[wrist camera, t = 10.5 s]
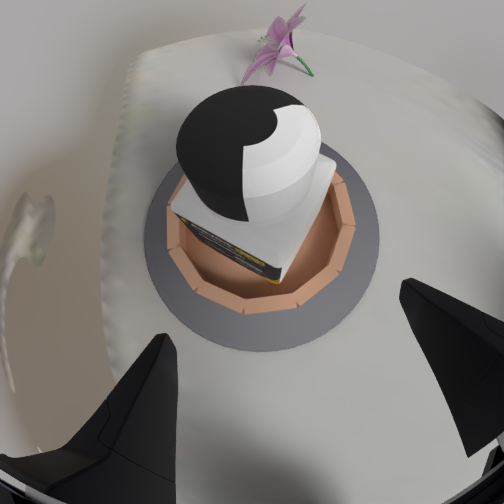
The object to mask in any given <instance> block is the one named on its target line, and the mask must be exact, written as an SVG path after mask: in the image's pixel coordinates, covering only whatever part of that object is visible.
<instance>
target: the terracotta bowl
mask: <svg viewBox="0 0 504 504" xmlns="http://www.w3.org/2000/svg"><path fill="white" fill-rule="evenodd" d="M187 179H188V178H187V176H186V175H185V173H184V175H183V177H182V178H181V180H180V182H179V184H178V185H177V187H176V189H175V191H174V192H173V194H172V196H171V198H170V200H169V202H168V204H169V206H167V249H168V250H169V254H170V256H171V257H172V259H173V260H174V262H175V264H176V265H177V267H178V268H179V270H180V271H181V273H182V274H183V276H184V277H185V279H186V280H187V282H188V284H189V285H190V287H191V288H192V290H193V291H196V293H197V294H200V295H202V296H204V297H206V298H208V299H210V300H212V301H215V302H217V303H219V304H221V305H223V306H226V307H228V308H230V309H232V310H234V311H237V312H239V313H241V314H247V315H249V314H258V313H266V312H274V311H282V310H289V309H295V308H297V307H299V306H301V305H302V304H303V303H305V302H306V301H307V300H309V299H310V298H311V297H312V296H314V295H315V294H316V293H317V292H319V291H320V290H321V289H322V288H324V287H325V286H326V285H327V284H328V283H330V282H331V281H332V280H333V279H334V278H336V277H337V276H338V275H339V273H340V272H341V271H342V268H343V265H344V262H345V259H346V256H347V253H348V250H349V247H350V244H351V241H352V238H353V235H354V232H355V227H354V226H355V225H356V223H355V219H354V215H353V211H352V207H351V203H350V199H349V195H348V191H347V188H346V184H345V183H343V179H342V178H341V177H340V176H339V175H338V174H337V173H336V172H334V175H333V178H332V180H331V183H330V186H329V188H328V191H327V193H326V196H325V199H324V201H323V204H322V206H321V209H320V211H319V213H318V215H317V217H316V219H315V221H314V222H313V224H312V226H311V228H310V230H309V232H308V234H307V236H306V238H305V239H304V241H303V243H302V245H301V247H300V249H299V251H298V252H297V254H296V256H295V258H294V260H293V262H292V263H291V265H290V267H289V269H288V271H287V272H286V274H285V276H284V278H283V280H282V281H281V283H280V284H274V283H272V282H270V281H268V280H266V279H265V278H263V277H261V276H259V275H257V274H256V273H254V272H252V271H250V270H248V269H247V268H245V267H243V266H241V265H239V264H238V263H236V262H234V261H232V260H231V259H229V258H227V257H225V256H224V255H222V254H220V253H218V252H216V251H215V250H213V249H211V248H209V247H208V246H206V245H204V244H202V243H201V242H200V241H199V240H198V239H197V238H196V237H195V235H194V234H193V233H192V232H191V231H190V230H189V229H188V228H187V227H186V226H185V224H184V223H183V222H182V221H181V220H180V219H179V218H178V217H177V215H176V214H175V213H174V212H173V211H172V210H171V206H170V205H171V202H172V201H173V199H174V198H175V196H176V195H177V194H178V192H179V191H180V189H181V188H182V186H183V185H184V184H185V182H186V181H187Z"/></svg>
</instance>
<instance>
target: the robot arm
mask: <svg viewBox="0 0 504 504" xmlns="http://www.w3.org/2000/svg"><path fill="white" fill-rule="evenodd" d="M399 300H400V303H401V305H402V308H403V310H404V312H405V315H406V317H407V319H408V322H409V324H410V327H411V329H412V331H413V333H414V335H415V337H416V339H417V341H418V343H419V345H420V347H421V349H422V351H423V353H424V355H425V357H426V359H427V361H428V363H429V365H430V367H431V369H432V371H433V373H434V375H435V377H436V379H437V381H438V384H439V386H440V388H441V390H442V392H443V395H444V397H445V399H446V402H447V404H448V406H449V409H450V411H451V414H452V416H453V419H454V421H455V424H456V427H457V429H458V432H459V435H460V437H461V440H462V443H463V446H464V449H465V452H466V455H467V457H468V458H469V457H470V456H472V455H473V454H475V453H476V452H478V451H479V450H481V449H482V448H483V447H485V446H486V445H487V444H489V443H490V442H491V441H493V440H494V439H495V438H496V439H497V441H498V443H499V445H498V446H497V447H495V448H494V449H493V450H492V451H490V453H489V456H488V460H487V463H486V466H485V468H484V471H483V474H482V477H481V478H480V479H479V480H477V481H476V482H475V483H473V484H472V485H470V486H469V487H467V488H466V489H464V490H463V491H461V492H460V493H458V494H457V495H455V496H454V497H452V498H450V499H449V500H447V501H445V502H444V503H442V504H504V322H503V321H500V320H498V319H496V318H494V317H492V316H490V315H488V314H486V313H484V312H481V311H480V310H478V309H476V308H474V307H472V306H470V305H468V304H466V303H464V302H462V301H460V300H458V299H456V298H454V297H452V296H450V295H448V294H446V293H444V292H442V291H439V290H437V289H435V288H433V287H431V286H429V285H427V284H425V283H422V282H420V281H418V280H416V279H414V278H408V279H405V280H403V281H402V283H401V289H400V295H399ZM177 401H178V371H177V351H176V347H175V345H174V344H173V342H172V340H171V339H170V337H169V335H168V334H167V333H162V334H157V335H156V336H155V337H154V338H153V339H152V340H151V342H150V343H149V344H148V345H147V347H146V348H145V349H144V350H143V352H142V353H141V354H140V356H139V357H138V358H137V359H136V361H135V362H134V363H133V364H132V366H131V367H130V368H129V369H128V371H127V372H126V373H125V375H124V376H123V377H122V378H121V380H120V381H119V382H118V384H117V385H116V386H115V387H114V389H113V390H112V391H111V393H110V394H109V395H108V396H107V399H105V400H104V402H103V403H102V404H101V406H100V407H99V408H98V409H97V411H96V412H95V413H94V414H93V416H92V417H91V418H90V419H89V420H88V421H87V422H86V423H85V424H84V426H83V427H82V428H81V429H80V430H79V431H78V432H77V433H76V434H75V435H74V436H73V437H72V439H71V440H70V441H69V442H68V443H67V444H65V445H64V446H63V447H61V448H59V449H56V450H53V451H49V452H45V453H40V454H35V455H31V456H26V457H20V458H11V457H8V456H7V455H5V454H0V469H1V470H3V471H4V472H6V473H8V474H9V475H11V476H12V477H14V478H15V479H17V480H19V481H20V482H22V483H24V484H26V491H25V492H24V491H22V490H20V489H19V488H17V487H15V486H13V485H11V484H9V483H7V482H6V481H4V480H2V479H1V478H0V504H176V484H175V459H176V421H177Z"/></svg>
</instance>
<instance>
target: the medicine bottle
mask: <svg viewBox="0 0 504 504" xmlns="http://www.w3.org/2000/svg"><path fill="white" fill-rule="evenodd" d="M320 145H321V134H320V129H319V126H318V123H317V121H316V119H315V117H314V116H313V114H312V113H311V112H310V110H309V109H308V108H307V107H306V106H305V105H304V104H303V103H301V102H300V101H299V100H297V99H296V98H295V97H293V96H291V95H290V94H288V93H286V92H283V91H281V90H278V89H275V88H271V87H266V86H255V85H250V86H239V87H234V88H229V89H226V90H223V91H220V92H218V93H216V94H214V95H212V96H210V97H208V98H207V99H205V100H204V101H202V102H201V103H200V104H199V105H197V106H196V107H195V108H194V109H193V110H192V112H191V113H190V114H189V115H188V117H187V118H186V119H185V121H184V123H183V124H182V126H181V128H180V131H179V134H178V137H177V144H176V151H177V157H178V161H179V164H180V166H181V168H182V170H183V171H184V173H185V175H186V176H187V178H188V179H187V181H186V182H185V184H184V185H183V186H182V188H181V189H180V191H179V192H178V194H177V195H176V196H175V198H174V199H173V201H172V202H171V205H170V206H171V210H172V211H173V212H174V213H175V214H176V215H177V217H178V218H179V219H180V220H181V221H182V222H183V223H184V224H185V226H186V227H187V228H188V229H189V230H190V231H191V232H192V233H193V234H194V235H195V237H196V238H197V239H198V240H199V241H200V242H201V243H202V244H204V245H206V246H208V247H209V248H211V249H213V250H215V251H216V252H218V253H220V254H222V255H224V256H225V257H227V258H229V259H231V260H232V261H234V262H236V263H238V264H239V265H241V266H243V267H245V268H247V269H248V270H250V271H252V272H254V273H256V274H257V275H259V276H261V277H263V278H265V279H266V280H268V281H270V282H272V283H274V284H280V283H281V281H282V280H283V278H284V276H285V274H286V272H287V271H288V269H289V267H290V265H291V263H292V262H293V260H294V258H295V256H296V254H297V252H298V251H299V249H300V247H301V245H302V243H303V241H304V239H305V238H306V236H307V234H308V232H309V230H310V228H311V226H312V224H313V222H314V221H315V219H316V217H317V215H318V213H319V211H320V209H321V206H322V204H323V201H324V199H325V196H326V193H327V191H328V188H329V186H330V183H331V180H332V178H333V175H334V172H335V170H336V162H335V161H334V160H332V159H330V158H328V157H326V156H324V155H322V154H320V153H319V150H320Z"/></svg>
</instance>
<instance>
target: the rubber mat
mask: <svg viewBox="0 0 504 504" xmlns="http://www.w3.org/2000/svg"><path fill="white" fill-rule="evenodd" d="M319 153H320V154H322V155H324V156H326V157H328V158H330V159H332V160H334V161H335V162H336V170H335V172H336V173H337V174H338V175H339V176H340V177H341V178H342V179H343V183H345V184H346V188H347V191H348V195H349V199H350V203H351V207H352V211H353V215H354V219H355V223H356V225H355V226H354V227H355V232H354V235H353V238H352V241H351V244H350V247H349V250H348V253H347V256H346V259H345V262H344V265H343V268H342V271H341V272H340V273H339V275H338V276H337V277H336V278H334V279H333V280H332V281H331V282H330V283H328V284H327V285H326V286H325V287H324V288H322V289H321V290H320V291H319V292H317V293H316V294H315V295H314V296H312V297H311V298H310V299H309V300H307V301H306V302H305V303H303V304H302V305H301V306H299V307H297V308H295V309H289V310H282V311H274V312H266V313H258V314H249V315H247V314H241V313H239V312H237V311H234V310H232V309H230V308H228V307H226V306H223V305H221V304H219V303H217V302H215V301H212V300H210V299H208V298H206V297H204V296H202V295H200V294H197V293H196V291H193V290H192V288H191V287H190V285H189V284H188V282H187V280H186V279H185V277H184V276H183V274H182V273H181V271H180V270H179V268H178V267H177V265H176V264H175V262H174V260H173V259H172V257H171V256H170V254H169V250H168V249H167V206H169V204H168V202H169V200H170V198H171V196H172V194H173V192H174V191H175V189H176V187H177V185H178V184H179V182H180V180H181V178H182V177H183V175H184V171H183V170H182V168H181V166H180V164H179V162H178V163H177V164H176V165H175V166H174V167H173V168H172V169H171V171H170V172H169V173H168V174H167V175H166V177H165V178H164V180H163V181H162V183H161V184H160V186H159V188H158V190H157V192H156V194H155V196H154V198H153V200H152V203H151V206H150V209H149V212H148V217H147V222H146V227H145V255H146V260H147V265H148V270H149V273H150V275H151V278H152V281H153V284H154V286H155V288H156V290H157V292H158V293H159V295H160V297H161V299H162V300H163V302H164V303H165V304H166V306H167V307H168V308H169V310H170V311H171V312H172V313H173V314H174V315H175V316H176V317H177V318H178V319H179V320H180V321H181V322H182V323H183V324H184V325H186V326H187V327H188V328H190V329H191V330H192V331H193V332H195V333H197V334H198V335H200V336H202V337H204V338H205V339H207V340H209V341H212V342H214V343H217V344H219V345H222V346H225V347H229V348H233V349H237V350H243V351H254V352H266V351H278V350H283V349H289V348H293V347H296V346H299V345H302V344H305V343H308V342H310V341H312V340H314V339H316V338H318V337H320V336H322V335H324V334H325V333H327V332H328V331H329V330H331V329H332V328H334V327H335V326H336V325H338V324H339V323H340V322H341V321H342V320H343V319H344V318H345V317H346V316H347V315H348V314H349V313H350V312H351V311H352V310H353V309H354V307H355V306H356V305H357V304H358V302H359V301H360V300H361V298H362V296H363V295H364V293H365V291H366V289H367V287H368V286H369V284H370V281H371V278H372V276H373V273H374V271H375V267H376V262H377V258H378V251H379V224H378V219H377V214H376V210H375V207H374V204H373V201H372V198H371V196H370V193H369V191H368V189H367V187H366V185H365V184H364V182H363V181H362V179H361V178H360V176H359V175H358V173H357V172H356V171H355V170H354V168H353V167H352V166H351V165H350V164H349V163H348V162H347V161H346V160H345V159H344V158H343V157H342V156H341V155H340V154H338V153H337V152H336V151H334V150H333V149H332V148H330V147H329V146H327V145H326V144H324V143H322V142H321V145H320V150H319Z"/></svg>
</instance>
